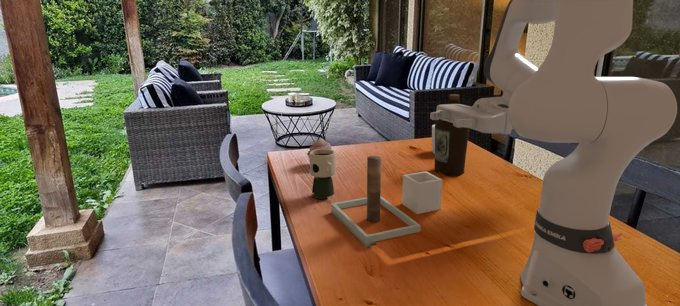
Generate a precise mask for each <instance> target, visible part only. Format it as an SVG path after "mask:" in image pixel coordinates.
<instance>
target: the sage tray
mask: <svg viewBox="0 0 680 306" xmlns="http://www.w3.org/2000/svg"><path fill="white" fill-rule="evenodd" d="M363 205H367V196H366V197H360V198H356V199H354V198H353V199H350V200H344V201H338V202H332V203H331V207H330V208H331V210H330V211H331V212H330V213H331V214H333V215H332V216H334V217H335V218H336V219H337V220H338V221H339V222H340V223H341V224H342V225H343V226H344V227H345V228H346V229H347V230H348V231H349V232H350V233H351V234H352V235H353V236H354V237H355V238H356V239H357V240H358V241H359V242H360V243H361V244H362V245H363V246H364V247H365V248H368V247H374V246H377V245H378V244H377V243H376V242H379V241H384V240H389V239H394V238H396V237H397V238H398V237H403V236H406V235H411V234H414V233H415V234H416V233H420V232H421V230H422V228H421V227H422V225H421V224H420V223H418V222H417V221H415V220H414V219H412V218H411V217H410V216H409V215H408V214H406V213H404V211H402V210H400V209H399V208H398V207H397V206H396V205H393V204H392V203H391V202H390V201H388V200H387V199H386V198H384V197H383V196H382V195H380V205H381V206H383V208H385V209H387V210H388V211H390V213H392V214H393V215H395V217H397V218H398V219H400V221H402V222H403V223H405V224H406V225H408V226H404V227H403V226H402V227H399V228H393V229H389V230H384V231H380V232H375V233H371V234H368V233H367V232H365V231H364V230H363V229H362V228H361V227H360V226H359V225H358V224H357V223H356V222H355V221H354V220H353V219H352V218H351V217H350V216H348V215H347V213H345V212H344V210H343V209H346V208H347V209H348V208H353V207H357V206H363Z"/></svg>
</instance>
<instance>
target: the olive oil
mask: <svg viewBox="0 0 680 306" xmlns="http://www.w3.org/2000/svg"><path fill="white" fill-rule="evenodd" d="M447 101H448V103H447V104H460V101H461V99H460V94H457V93H450V94H449V95H448V99H447ZM453 124H454V123H451V122H448V121H445V120H441V119H439V120H435V123H434V125H435V154H434V172H436V173H437V174H438V173H440V174H442V175H444V176H447V177H455V176H461V175H463V174H464V173H465V166H466V157H467V151H468V150H467V149H468V143H469V142H468V141H469V136H470V135H469V134H470V129H471V128H465V127H460V128H458V127H454V126H453Z"/></svg>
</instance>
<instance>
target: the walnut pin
mask: <svg viewBox="0 0 680 306" xmlns="http://www.w3.org/2000/svg"><path fill="white" fill-rule="evenodd" d="M366 159H367V162H366V164H367V167H366V168H367V169H366V170H367V171H366V177H367V178H366V197H367V204H366V221H367V222H369V223H372V224H373V223H374V224H376V223H379V222H380V221H381V204H380V196H381V181H382V180H381V179H382V177H381V174H382V157H381V156H379V155H370V156H368V157H367V158H366Z"/></svg>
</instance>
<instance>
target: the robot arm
mask: <svg viewBox="0 0 680 306" xmlns="http://www.w3.org/2000/svg"><path fill="white" fill-rule="evenodd" d="M633 13H634V0H509V2H508V3H507V6H506V7H505V10H504V12H503V16H502V18H501V21H500V25H499V28H498V31H497V34H496V37H495V41H494V43H493V46H492V49H491V51H490V53H489V54H488V55H487V58H486V59H485V60H486V61H485V63H484V67H483V75H484V77H485V79H486V80H487V81H489V82H490V83H492V84H493V85H495V86H496V87H498V88H499V89H500V90H501V91H502V92H503V94H502V95H501V96H494V97H493V96H492V97H482V98H479V99H477V100H476V101H475V102H474V103H473V105H472V106H470V105H466V104H461V103H459V104H448V103H445V104H443V103H442V104H438V105H437V106H436V110H435V111H433V112H430V113H429V114H430V115H429V116H430V117H429V119H430V120H432V121H436V120H439V119H441V120H445V121H448V122H451V123H454V124H453V126H454V127H458V128H460V127H465V128H470V129H471V130H474V131H478V132H479V133H482V134H501V135H511V133H512V130H514V131H515V132H516V134H517V135H519V136H520V137H521V138H524V139H529V140H534V141H538V142H544V143H549V144H550V143H553V144H554V143H556V144H557V143H559V144H561V143H562V144H564V143H565V144H566V143H568V144H571V143H572V144H573V143H575V144H576V143H577V144H578V145H577V146H576V147H575V149H574V150H573V151H572V152H571V153H569V154H568V155H567V156H565V157H564V158H562V159H559V160H558V161H555V162H554V163H553V164H551V165H550V166H549V167H548V169H546V171H545V173H544V175H543V179H542V185H541V186H542V187H541V192H540V193H541V194H540V195H541V196H540V201H539V207H538V209H537V210H536V214H535V219H534V225H533V229H534V231H535V233H534V239H533V242H532V245H531V246H532V247H531V250H530V252H529V253H530V254H529V256H528V259H527V261H526V264H525V266H524V268H523V270H522V272H521V274H520V281H521V284H522V287H521V290H520V295H521V296H522V297H523V298H524V299H525V300H528V301H530V302H531V303H533V304H535V305H537V306H649V305H647V304H646V290H645V285H644V282H643V280H642V279H641V278H640V276H639V275H638V274H637V273H636V272H635V271H634V269H633V268H632V267H631V266H630V265H629V263H628V262H627V261H626V259H624V257H623V255H622V254H621V253H620V252H619V251H618V250H617V248H616V247H615V242H617V241H620V240H622V238H621V236H622V235H623V233H622V232H620V233H617V234H613V230H612V226H611V222H610V221H609V219H610V213H611V209H612V204H613V201H614V196H615V193H616V189H617V186H618V183H619V180H620V178H621V177H622V175H623V173H624V172H625V170H626V169H627V167H628V166H629V164H631V162H632V161H633V160H634V159H635V158H636V156H637V155H638V154H639V153H640V152H641V151H643V149H644V148H646V147H647V146H649V144H652V143H653V142H654V141H656V140H658V139H660V138H661V137H663V136H664V135H665V134H667V133H668V131H670V129H671V128H672V126H673V124H675V121H676V118H677V115H678V102H677V99H676V96H675V94H674V92H673V90H672V89H671V87H669V86H668V85H667V84H666V83H664V82H662V81H657V80H654V79H650V78H642V77H639V76H638V77H637V76H595V70H596V65H597V64H598V61H599V59H600V58H601V57H602V56H604V55H607V54H609V53H611V52H613V51H614V50H616V49H618V48H619V47H621V46H622V45H623V44H624V43H625V42H626V40H627V39H628V38H629V37H630V35H631V33H632V30H633ZM551 22H554V29H553V35H552V36H553V37H552V41H551V45H550V48H549V51H548V53H547V55H546V56H545V58H544V60H543V62H542V63H541V65H540V66H539V67H538V66H537V65H536V64H534V63H533V62H532V61H530V60H529V59H527V58H526V57H525V56H523V55H522V53H521V52H520V50H519V44H520V42H521V39H522V36H523V34H524V32H525V31H524V30H525V28H526V26H527V24H532V25H542V24H548V23H551Z"/></svg>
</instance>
